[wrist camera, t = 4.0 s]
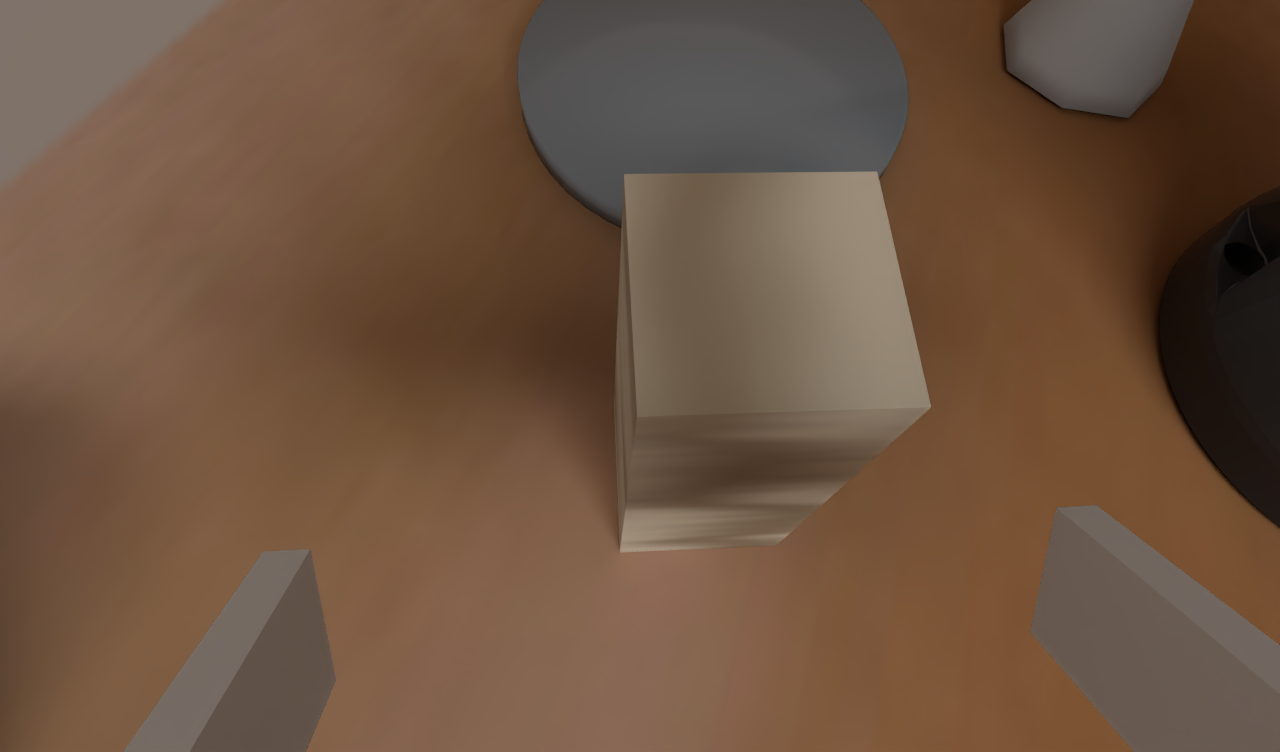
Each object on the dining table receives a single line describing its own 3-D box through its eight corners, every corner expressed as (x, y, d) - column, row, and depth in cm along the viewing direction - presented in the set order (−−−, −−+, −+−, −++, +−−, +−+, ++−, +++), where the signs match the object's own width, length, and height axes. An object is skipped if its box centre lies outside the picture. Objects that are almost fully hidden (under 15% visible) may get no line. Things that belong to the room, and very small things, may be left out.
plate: (826, -54, 35) (833, -79, 34) (956, 214, 29) (970, 195, 28) (493, -17, 33) (490, -41, 32) (558, 283, 27) (556, 264, 26)
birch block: (757, 400, 25) (877, 171, 14) (776, 545, 23) (931, 407, 12) (613, 404, 25) (623, 174, 14) (619, 552, 23) (636, 416, 12)
